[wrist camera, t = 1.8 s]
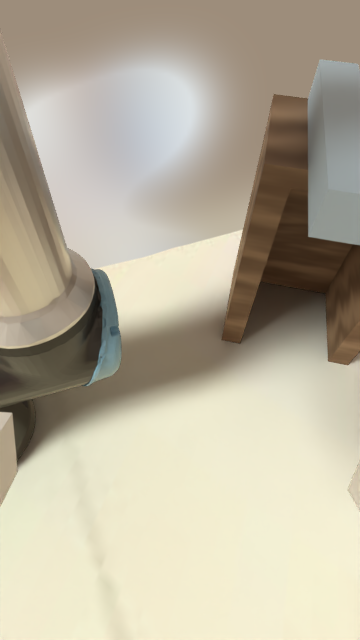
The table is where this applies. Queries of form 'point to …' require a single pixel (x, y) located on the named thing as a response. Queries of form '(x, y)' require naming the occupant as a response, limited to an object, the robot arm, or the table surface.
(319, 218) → the rod
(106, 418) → the table surface
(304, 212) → the shelf
